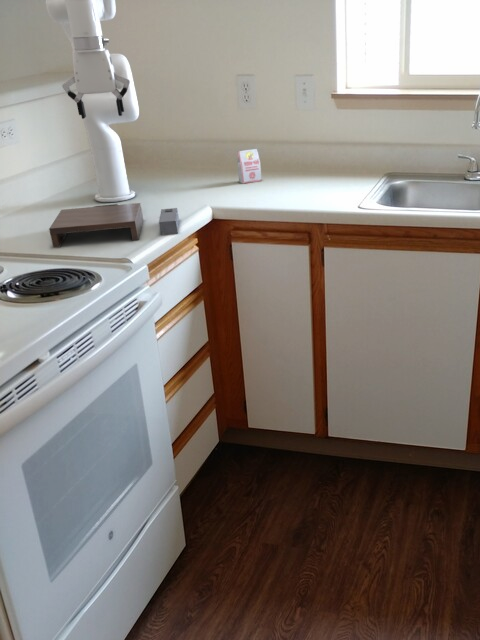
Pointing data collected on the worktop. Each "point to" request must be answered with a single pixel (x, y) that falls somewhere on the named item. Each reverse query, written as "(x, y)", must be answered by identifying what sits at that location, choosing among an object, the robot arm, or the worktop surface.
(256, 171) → the white paper food bag
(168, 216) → the grey long block
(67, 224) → the shelf
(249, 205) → the worktop surface
